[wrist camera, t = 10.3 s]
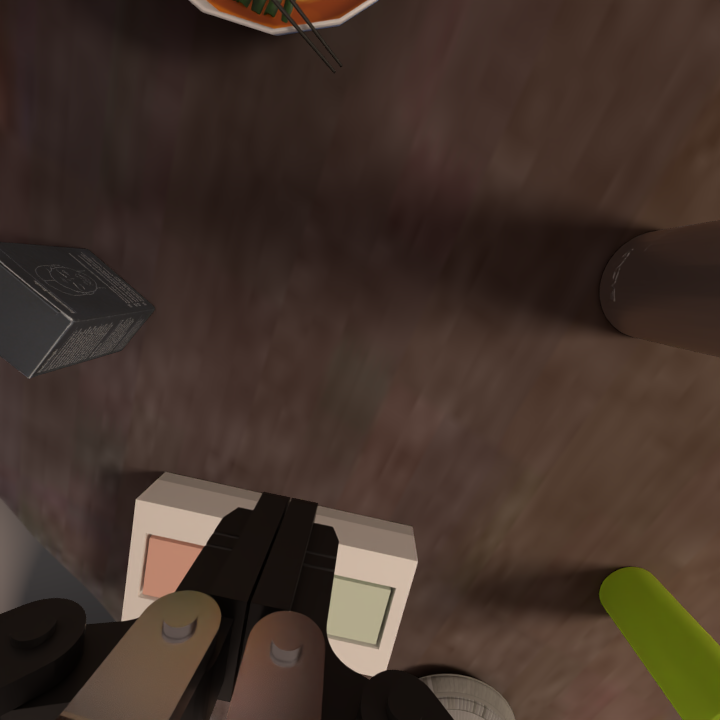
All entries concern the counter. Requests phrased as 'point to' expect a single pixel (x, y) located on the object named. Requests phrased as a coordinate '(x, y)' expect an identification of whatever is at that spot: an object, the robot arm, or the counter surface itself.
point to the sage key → (357, 609)
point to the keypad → (355, 532)
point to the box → (63, 308)
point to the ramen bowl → (287, 15)
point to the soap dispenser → (666, 641)
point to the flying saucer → (468, 697)
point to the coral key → (167, 564)
